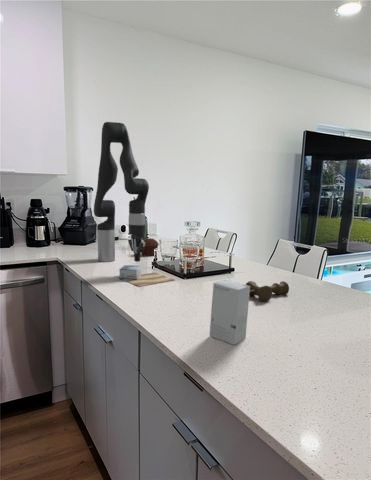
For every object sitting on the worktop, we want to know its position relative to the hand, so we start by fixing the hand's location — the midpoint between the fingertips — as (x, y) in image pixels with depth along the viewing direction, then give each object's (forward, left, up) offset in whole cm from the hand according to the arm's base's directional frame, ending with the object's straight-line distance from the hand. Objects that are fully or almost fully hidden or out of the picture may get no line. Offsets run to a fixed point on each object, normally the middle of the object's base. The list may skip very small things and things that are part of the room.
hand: (137, 261), depth 151 cm
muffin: (-39, +31, -7) cm, 50 cm away
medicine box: (-1, -1, -4) cm, 5 cm away
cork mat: (+9, 0, -7) cm, 11 cm away
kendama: (+55, +23, -7) cm, 60 cm away
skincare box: (+71, -14, -7) cm, 73 cm away
